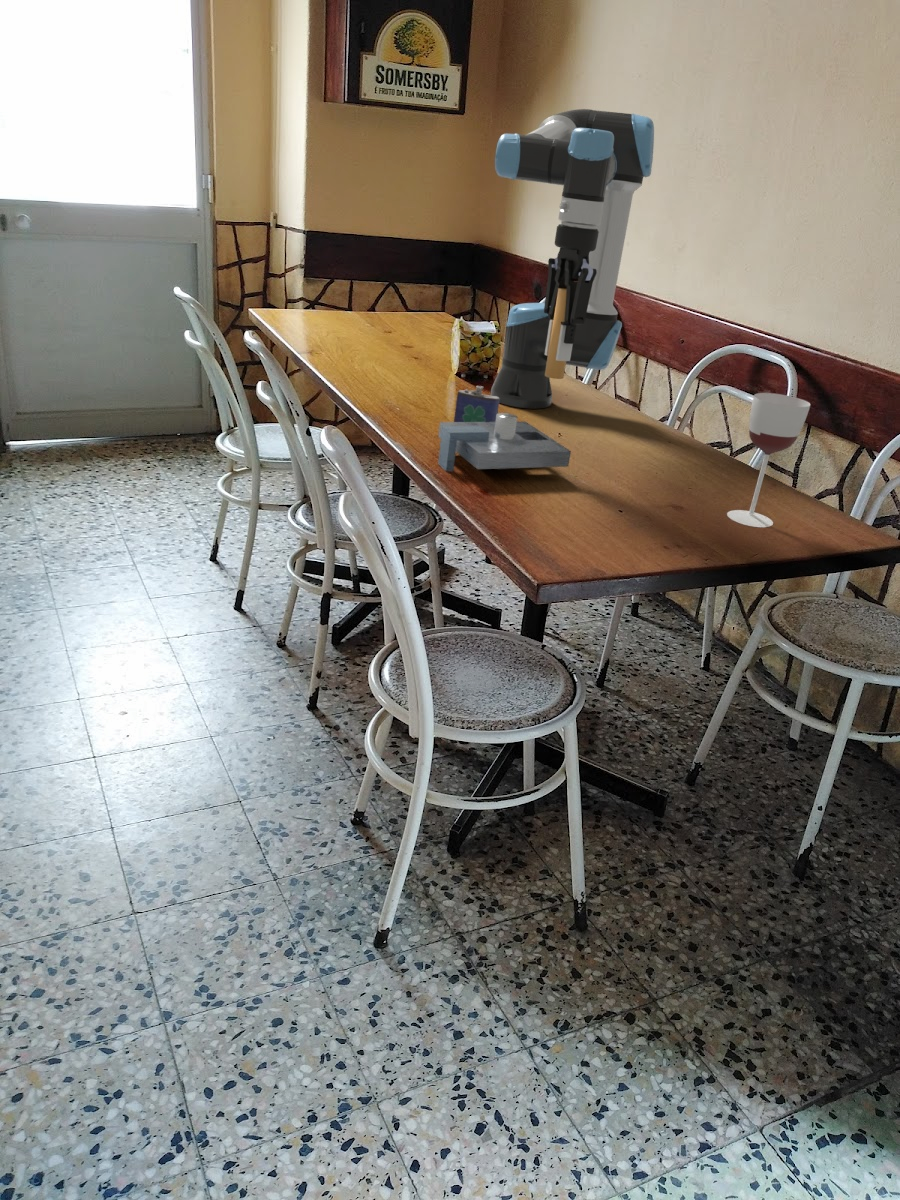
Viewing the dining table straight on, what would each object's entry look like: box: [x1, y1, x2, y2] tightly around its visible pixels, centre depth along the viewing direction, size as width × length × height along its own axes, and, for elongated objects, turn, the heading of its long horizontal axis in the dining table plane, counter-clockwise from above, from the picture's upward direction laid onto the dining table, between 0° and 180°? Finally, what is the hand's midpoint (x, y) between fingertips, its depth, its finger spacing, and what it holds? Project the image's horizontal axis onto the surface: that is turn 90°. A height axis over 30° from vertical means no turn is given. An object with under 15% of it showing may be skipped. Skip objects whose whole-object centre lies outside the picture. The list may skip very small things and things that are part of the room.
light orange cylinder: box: [545, 288, 567, 380], centre depth 173 cm, size 4×4×16 cm
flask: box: [453, 385, 500, 422], centre depth 195 cm, size 9×3×11 cm, turn 74°
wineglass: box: [726, 392, 811, 528], centre depth 164 cm, size 9×10×22 cm
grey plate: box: [437, 412, 572, 472], centre depth 178 cm, size 22×19×10 cm
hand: (557, 357), depth 175 cm, fingers closed on light orange cylinder, 4 cm apart
